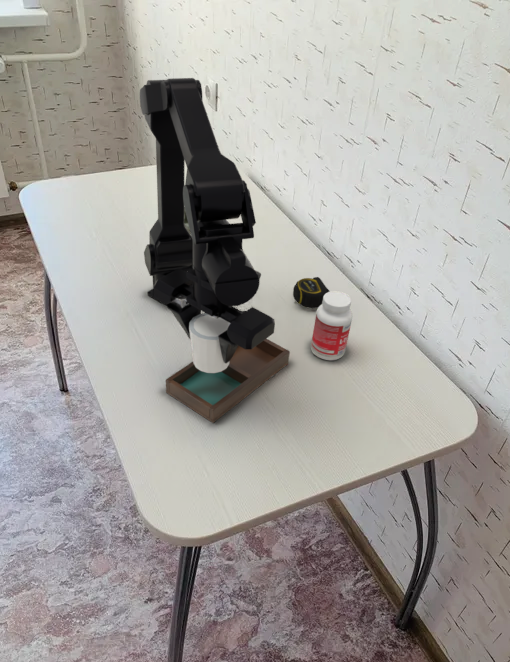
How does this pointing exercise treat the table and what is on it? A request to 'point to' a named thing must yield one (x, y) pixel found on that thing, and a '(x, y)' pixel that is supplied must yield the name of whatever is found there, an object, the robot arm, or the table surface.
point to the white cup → (207, 342)
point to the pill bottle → (332, 326)
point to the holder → (227, 380)
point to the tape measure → (310, 292)
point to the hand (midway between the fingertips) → (211, 352)
